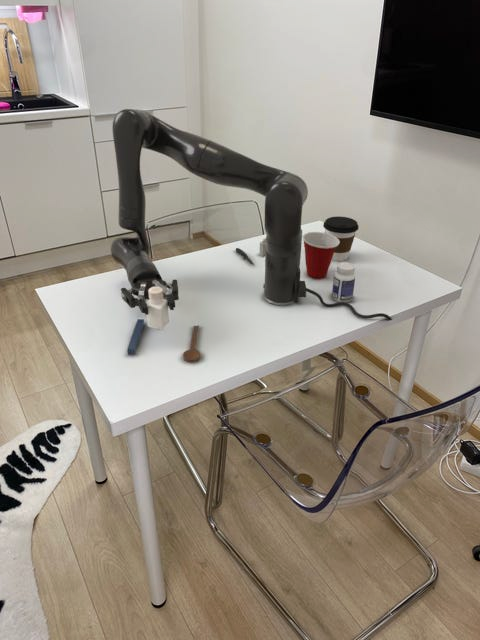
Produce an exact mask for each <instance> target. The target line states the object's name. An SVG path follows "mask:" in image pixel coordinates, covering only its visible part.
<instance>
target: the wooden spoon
mask: <svg viewBox="0 0 480 640" xmlns="http://www.w3.org/2000/svg"><path fill="white" fill-rule="evenodd" d="M199 327H200V326H199V325H193V329H192V335H191V341H190V347H189V349H187V350H185V351H184V352H183V353H182V358H183V360H184V361H185V362H186V363H191V364H192V363H196V362H199V361H200V360H201V357H202V354H201V351H200V350H199V349H197V343H198V337H199V329H200V328H199Z"/></svg>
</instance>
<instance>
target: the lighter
mask: <svg viewBox="0 0 480 640" xmlns="http://www.w3.org/2000/svg"><path fill="white" fill-rule="evenodd" d="M259 256H260V257H265V256H266V237H265V238H263V239H262V241H261V242H260V241H259Z"/></svg>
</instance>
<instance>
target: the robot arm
mask: <svg viewBox="0 0 480 640" xmlns="http://www.w3.org/2000/svg"><path fill="white" fill-rule="evenodd" d="M111 125H112V128H111V129H112V130H111V131H112V140H113V145H114V154H115V161H116V168H117V169H116V170H117V180H118V181H117V183H118V226H119V227H120V228H121V229H124V230H127V231H132V232H134V233H136V237H135V236H119V237H116V238H115V239H113V240H112V242H111V245H110V255H111V257H112V259H113V260H114V262H115V263H116V264H117V265H118V266H120V267H121V268H123V269H124V270H125V272H126V276H127V280H128V283H129V285H130V286H131V288H126V287H121V288H120V293H121V299H122V300H123V301H124V302H125V303H126V305H127V306H128V307H129V308H131V309H135V308H136V307H138V308H139V310H140V312H141V313H142V314H144V315H145V316H147V315H148V306H147V300H150V299H149V293H148V290H149V289H150V288H151V287H161V288H162V289H163V299H164V300H166V301H167V302H168V309H169V310H170V311H174V310H175V308H176V301H179V300H180V297H179V284H178V279H172V280H171V282H167V281H166V280H163V278H162V276H161V274H160V272H159V270H158V268H157V266H156V265H155V263H154V262H153V261H152V260H151V258H150V256H151V246H150V242H149V239H148V234H147V228H146V200H147V199H146V192H145V187H144V184H143V179H142V174H141V156H142V149H144V150H145V149H146V150H150V151H153V152H156V153H158V154H161V155H164V156H167V157H168V158H170V159H172V160H173V161H175V162H176V163H177V164H178V165H180V166H181V167H182V168H184V169H185V170H186V171H188V172H189V173H191V174H193V175H194V176H196V177H199V178H200V179H203V180H205V181H208V182H210V183H213V184H216V185H219V186H224V187H231V188H239V189H246V190H249V191H252V192H254V193H256V194H259V195H261V196H263V197H265V199H264V232H265V234H266V235H265V238H266V256H264V257H265V260H264V283H263V299H264V300H265V301H266V302H267V303H268V304H271V305H274V306H289V305H292V304H298V303H299V298H307V293H309V294H310V295H313V296H315V297H317V298H318V300H319V302H320V304H321V305H322V306H323V307H326V308H334V307H338V306H344V307H347V308H348V309H350V311H351V312H352V313H353V315H354V316H356V317H357V318H361V319H373V318H379V317H381V318H382V317H383V318H385V319H387V321H393V318H392V317H390V315H389V314H387V313H381V312H380V313H373V314H361V313H359V312H357V311H356V309H355V308H354V306H353V305H351V303H349V302H346V303H345V302H334V303H326V302H325V301H324V299H323V297H322V295H321V294H320V293H318V292H317V291H314V290H312V289H310V288H308V287H307V285H306V281H305V280H301V274H302V273H301V255H302V243H303V237H302V236H303V229H302V214H303V206H304V204H305V203H306V201H307V198H308V195H309V191H308V190H309V189H308V186H307V185H308V184H307V183H306V182H305V180H304V179H303V178H302V177H300V176H299V175H297V174H295V173H293V172H290V171H286V170H283V169H279V168H276V167H273V166H269V165H267V164H264V163H261V162H258V161H257V160H254V159H253V158H252V157H251V158H250V157H249V156H246V155H245V154H242V153H239V152H237V151H235V150H233V149H231V148H229V147H227V146H225V145H222V144H220V143H218V142H215V141H213V140H211V139H208V138H205V137H202V136H200V135H197V134H194V133H192V132H188V131H185V130H181V129H179V128H176V127H174V126H173V125H171V124H168V123H167V122H165V121H163V120H161V119H160V118H159V117H156V116H155V115H153V114H151V113H149V112H148V111H146V110H142V109H136V108H124V109H121V110H119V111H118V112H117V113H116V114H115V116H114V117H113V120H112V124H111ZM135 296H136V297H135Z"/></svg>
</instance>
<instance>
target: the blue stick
mask: <svg viewBox="0 0 480 640" xmlns="http://www.w3.org/2000/svg"><path fill="white" fill-rule="evenodd" d="M144 327H145V319H144V318H137V321H136V323H135V326H134V329H133V331H132V335H131V338H130V340H129V343H128V346H127V349H126V351H127V355H128V356H129V355H130V356H131V355H132V356H134V355H136V352H137V350H138V346H139V343H140V340H141V337H142V333H143V330H144Z"/></svg>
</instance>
